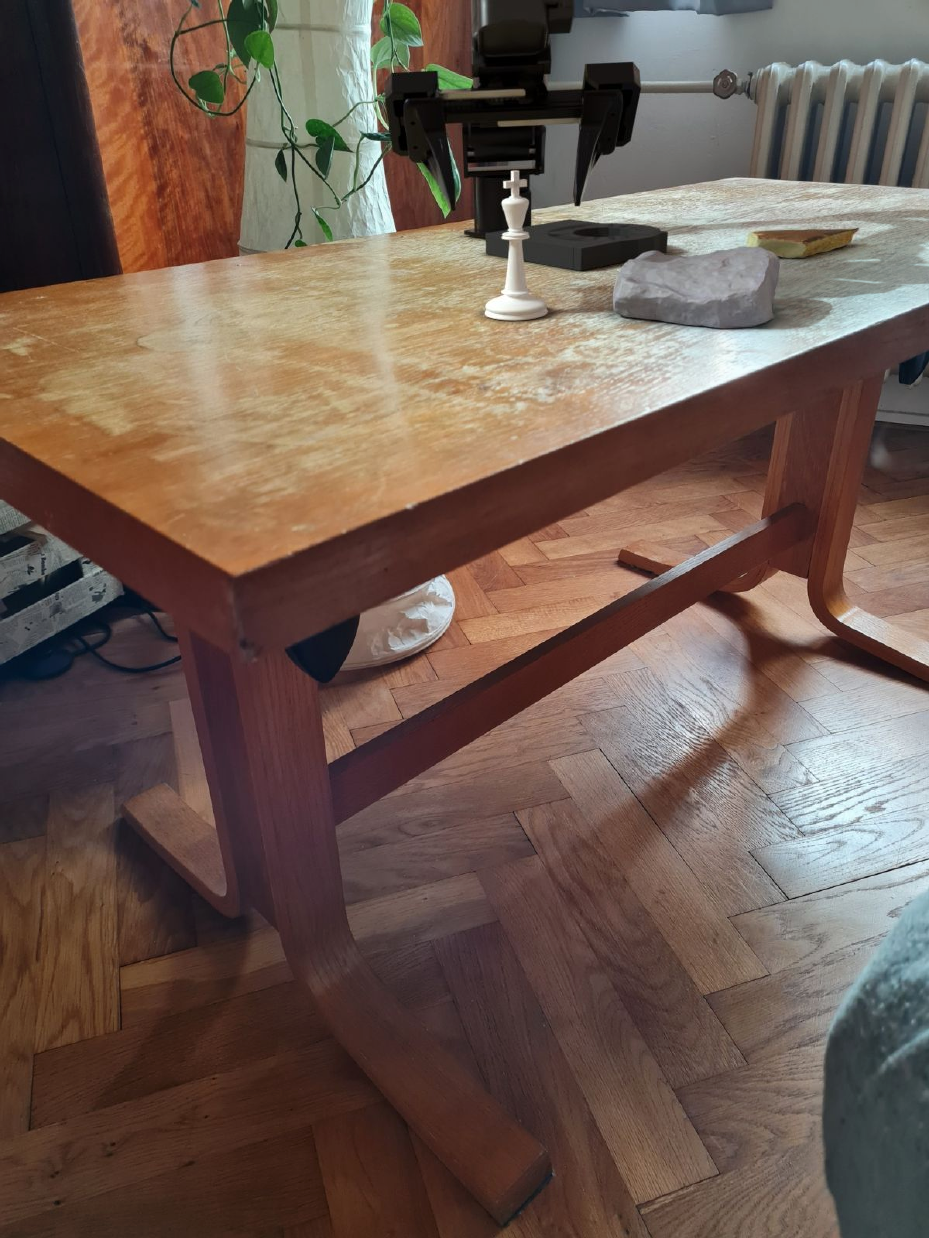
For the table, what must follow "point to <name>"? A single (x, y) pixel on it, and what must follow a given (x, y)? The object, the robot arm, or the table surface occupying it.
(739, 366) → the table surface
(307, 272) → the table surface
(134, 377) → the table surface
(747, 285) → the stone block
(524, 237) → the chess piece
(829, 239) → the yellow brown flat wedge
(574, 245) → the socket pad
